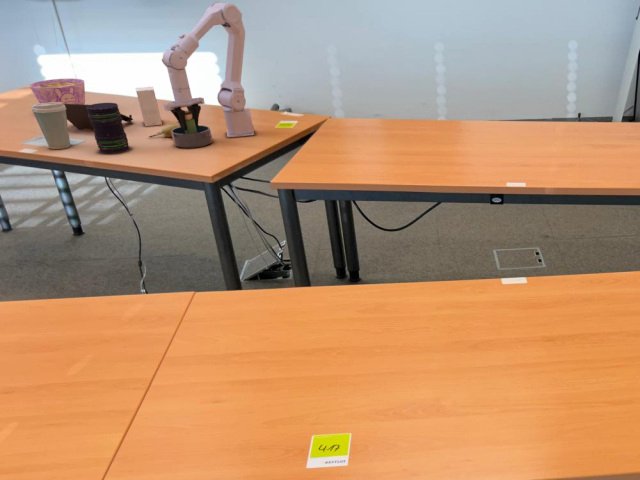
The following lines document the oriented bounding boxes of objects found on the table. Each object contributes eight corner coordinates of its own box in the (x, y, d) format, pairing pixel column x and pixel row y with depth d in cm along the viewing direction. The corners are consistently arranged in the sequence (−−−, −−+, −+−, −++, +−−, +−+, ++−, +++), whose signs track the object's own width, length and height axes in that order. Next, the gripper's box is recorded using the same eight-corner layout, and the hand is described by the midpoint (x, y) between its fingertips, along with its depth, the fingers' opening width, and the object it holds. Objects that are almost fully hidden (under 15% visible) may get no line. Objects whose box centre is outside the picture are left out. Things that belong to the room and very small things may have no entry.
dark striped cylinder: (133, 145, 260) (120, 102, 251) (127, 153, 252) (114, 108, 243) (103, 147, 258) (89, 103, 250) (96, 155, 250) (82, 109, 242)
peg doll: (197, 132, 262) (192, 109, 258) (197, 134, 259) (192, 111, 255) (185, 133, 261) (180, 110, 257) (185, 135, 258) (180, 112, 254)
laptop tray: (139, 139, 290) (139, 115, 289) (98, 125, 267) (98, 99, 266) (87, 136, 293) (87, 113, 292) (42, 122, 270) (42, 96, 269)
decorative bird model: (175, 130, 264) (185, 116, 270) (143, 135, 266) (153, 121, 272) (181, 141, 267) (190, 127, 273) (149, 145, 269) (159, 132, 275)
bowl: (212, 137, 269) (208, 123, 266) (213, 146, 259) (210, 132, 256) (174, 141, 265) (170, 127, 262) (174, 150, 255) (171, 135, 252)
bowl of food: (77, 118, 295) (68, 88, 288) (29, 118, 295) (18, 87, 289) (101, 107, 311) (93, 78, 305) (55, 107, 312) (46, 78, 305)
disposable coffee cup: (39, 147, 258) (24, 102, 250) (71, 141, 265) (57, 98, 257) (50, 152, 252) (35, 107, 244) (82, 146, 259) (69, 102, 251)
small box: (162, 124, 285) (153, 89, 278) (145, 126, 283) (135, 91, 276) (161, 120, 292) (152, 86, 284) (144, 122, 289) (134, 87, 282)
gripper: (168, 92, 245) (178, 134, 252) (206, 85, 255) (214, 125, 262) (156, 90, 248) (166, 131, 256) (193, 83, 258) (202, 123, 265)
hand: (190, 128), depth 259 cm, fingers closed on peg doll, 4 cm apart
